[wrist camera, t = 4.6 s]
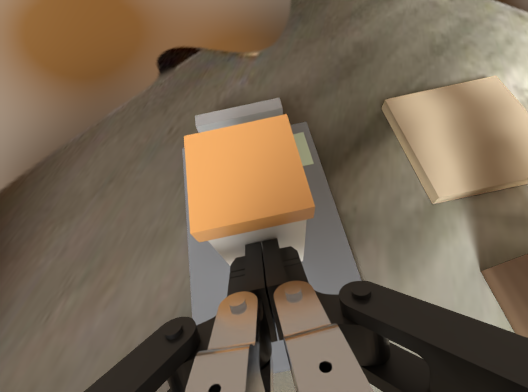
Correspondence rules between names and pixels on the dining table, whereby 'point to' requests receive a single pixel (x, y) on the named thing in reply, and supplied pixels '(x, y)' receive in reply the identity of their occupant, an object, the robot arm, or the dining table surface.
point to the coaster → (462, 138)
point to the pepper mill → (511, 291)
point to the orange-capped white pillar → (247, 187)
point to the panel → (316, 237)
